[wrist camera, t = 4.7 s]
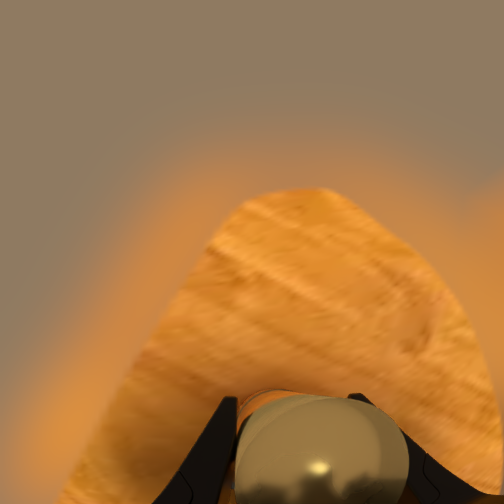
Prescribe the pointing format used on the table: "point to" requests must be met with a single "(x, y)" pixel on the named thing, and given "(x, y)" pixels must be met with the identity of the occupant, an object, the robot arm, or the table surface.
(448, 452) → the table surface
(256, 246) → the table surface
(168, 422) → the table surface
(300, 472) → the gold metal cylinder
